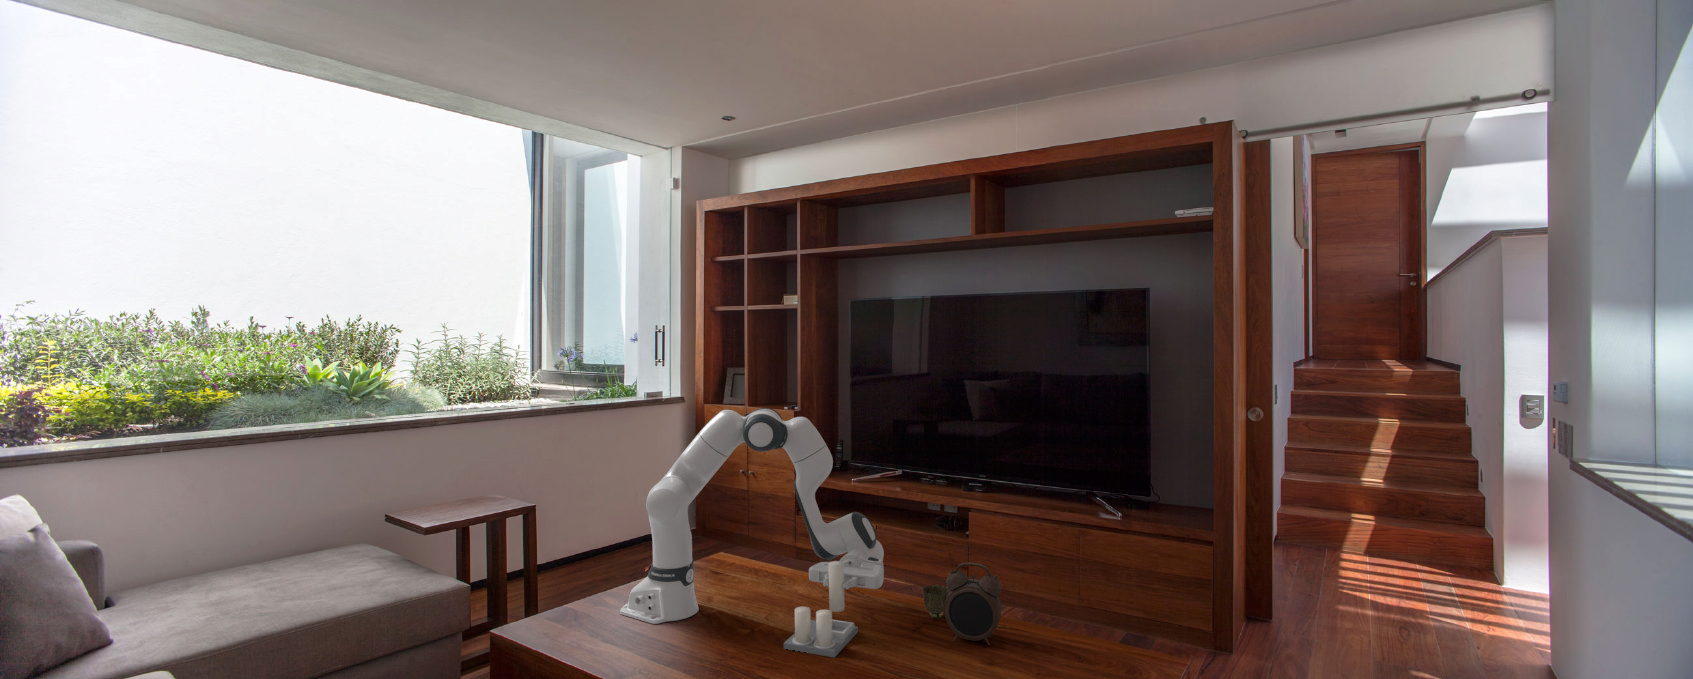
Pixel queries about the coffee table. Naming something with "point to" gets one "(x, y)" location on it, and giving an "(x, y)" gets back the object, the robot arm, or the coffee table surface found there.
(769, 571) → the coffee table surface
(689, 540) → the robot arm
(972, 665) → the coffee table surface
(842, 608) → the ivory pin
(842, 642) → the pin board
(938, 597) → the cup
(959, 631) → the alarm clock
